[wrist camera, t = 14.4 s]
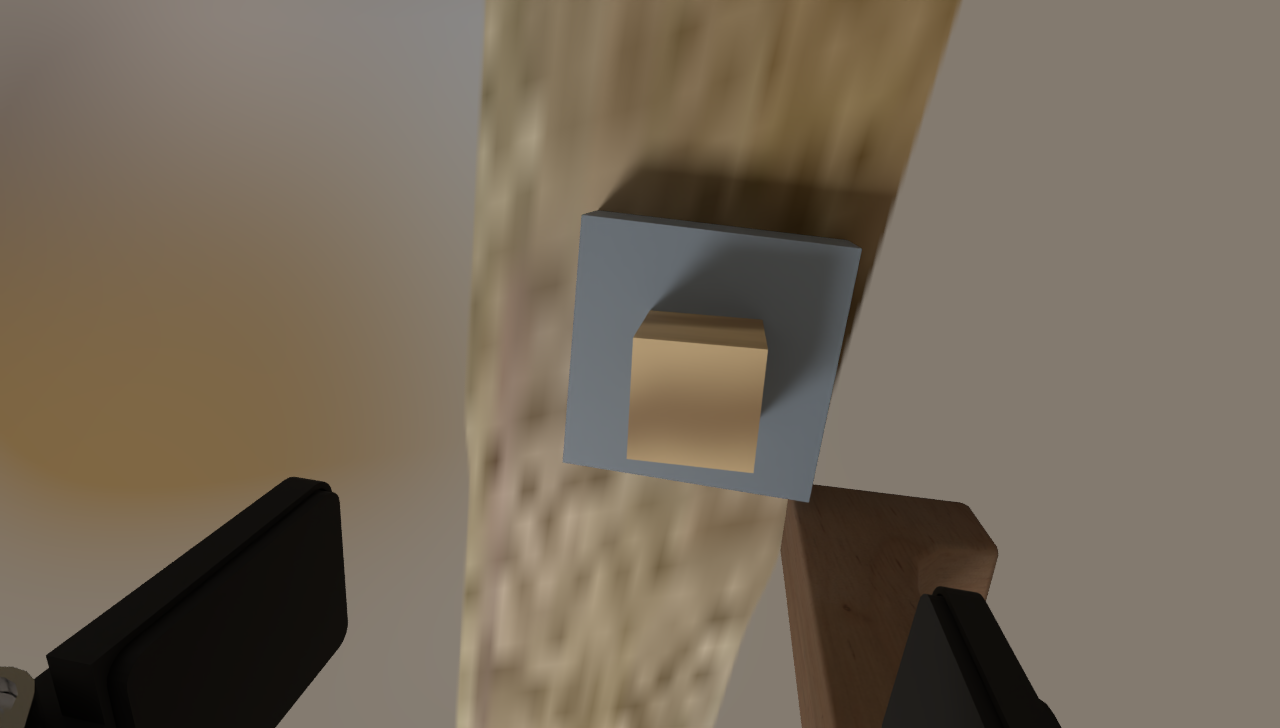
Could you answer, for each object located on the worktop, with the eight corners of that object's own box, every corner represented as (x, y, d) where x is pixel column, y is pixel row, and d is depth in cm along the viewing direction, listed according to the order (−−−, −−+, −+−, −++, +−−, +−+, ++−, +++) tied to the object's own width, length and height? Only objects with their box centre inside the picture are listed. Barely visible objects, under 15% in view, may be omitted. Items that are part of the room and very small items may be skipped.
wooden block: (968, 500, 33) (1222, 859, 16) (950, 575, 34) (1165, 981, 17) (790, 478, 34) (846, 792, 17) (778, 552, 35) (820, 912, 18)
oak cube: (650, 310, 29) (633, 337, 24) (762, 319, 28) (767, 349, 23) (643, 413, 30) (626, 458, 25) (750, 424, 30) (753, 473, 25)
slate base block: (600, 209, 32) (581, 214, 28) (846, 239, 30) (861, 248, 27) (581, 431, 35) (562, 462, 32) (800, 465, 34) (808, 502, 30)
